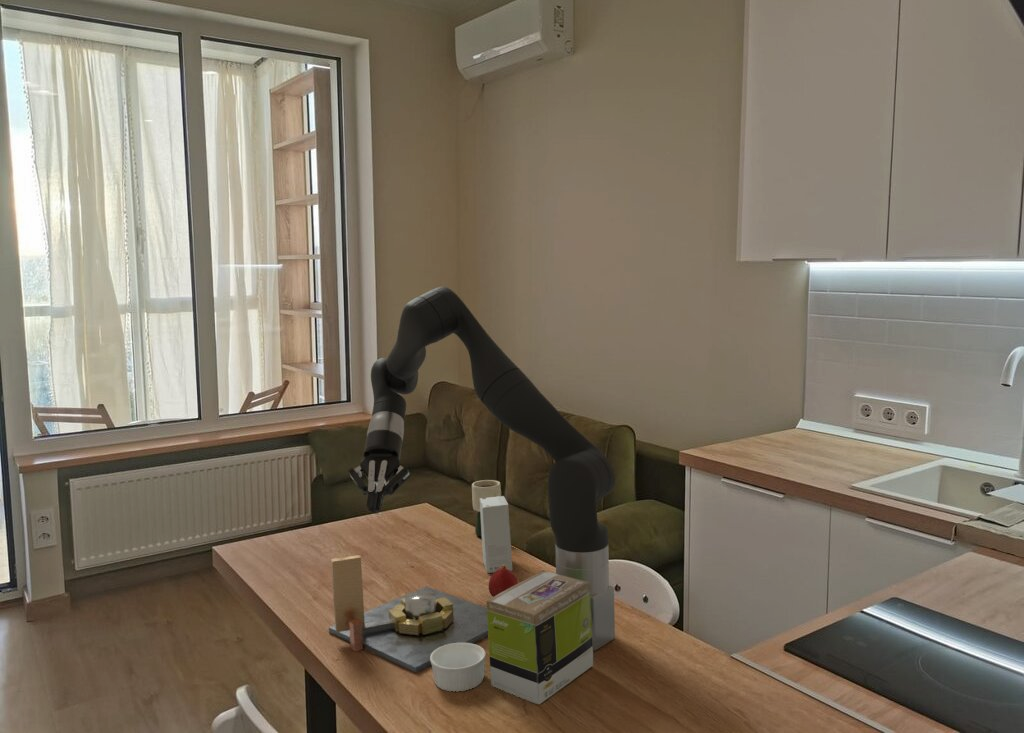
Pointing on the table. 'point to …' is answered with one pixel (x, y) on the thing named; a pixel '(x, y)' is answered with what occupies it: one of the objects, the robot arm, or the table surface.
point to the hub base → (419, 648)
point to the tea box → (540, 635)
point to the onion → (501, 581)
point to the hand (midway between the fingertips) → (373, 511)
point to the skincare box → (495, 533)
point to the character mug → (483, 491)
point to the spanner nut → (352, 608)
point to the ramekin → (458, 666)
